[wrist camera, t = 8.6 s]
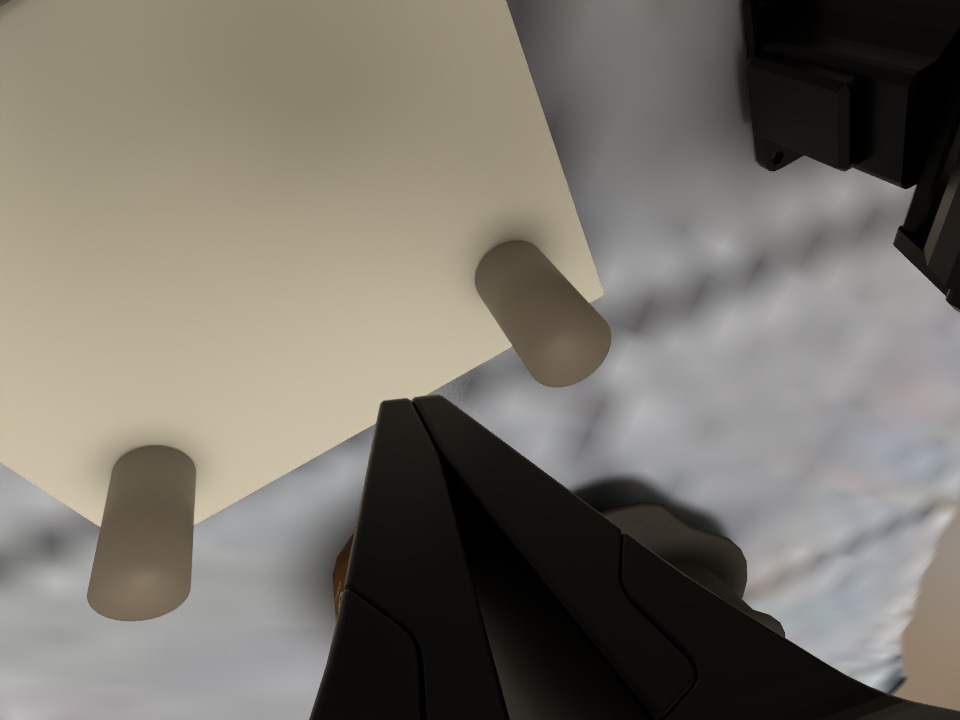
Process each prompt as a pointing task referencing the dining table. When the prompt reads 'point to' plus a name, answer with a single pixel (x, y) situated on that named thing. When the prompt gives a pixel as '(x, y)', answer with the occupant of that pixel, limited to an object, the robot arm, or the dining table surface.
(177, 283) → the cream square peg board
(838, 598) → the dining table surface
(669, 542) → the casserole
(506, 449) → the robot arm
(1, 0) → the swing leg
